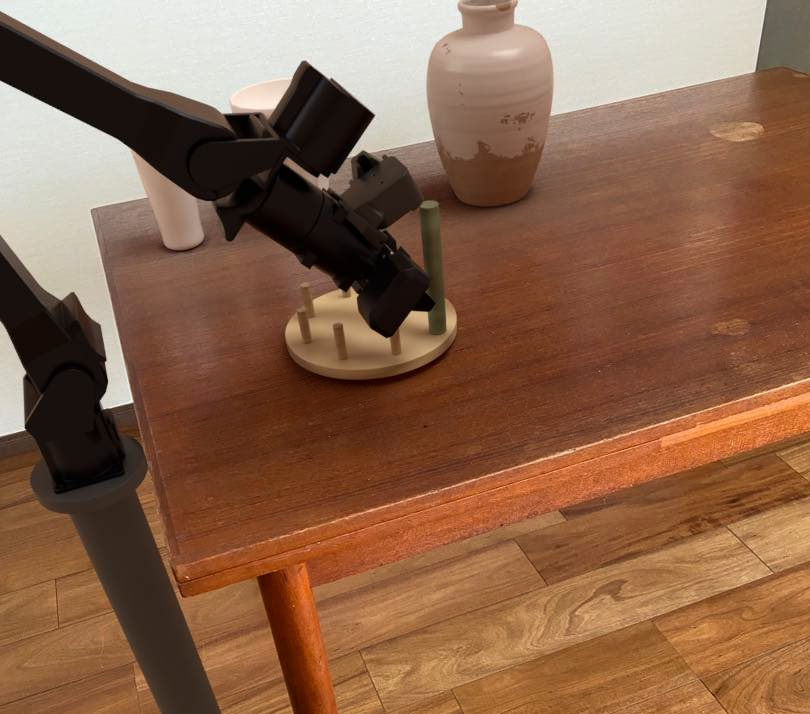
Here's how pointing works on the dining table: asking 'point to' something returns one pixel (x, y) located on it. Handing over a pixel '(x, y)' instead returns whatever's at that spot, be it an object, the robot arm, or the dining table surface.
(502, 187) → the vase
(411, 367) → the wooden peg board
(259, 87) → the cup
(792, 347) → the dining table surface
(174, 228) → the pink tumbler
